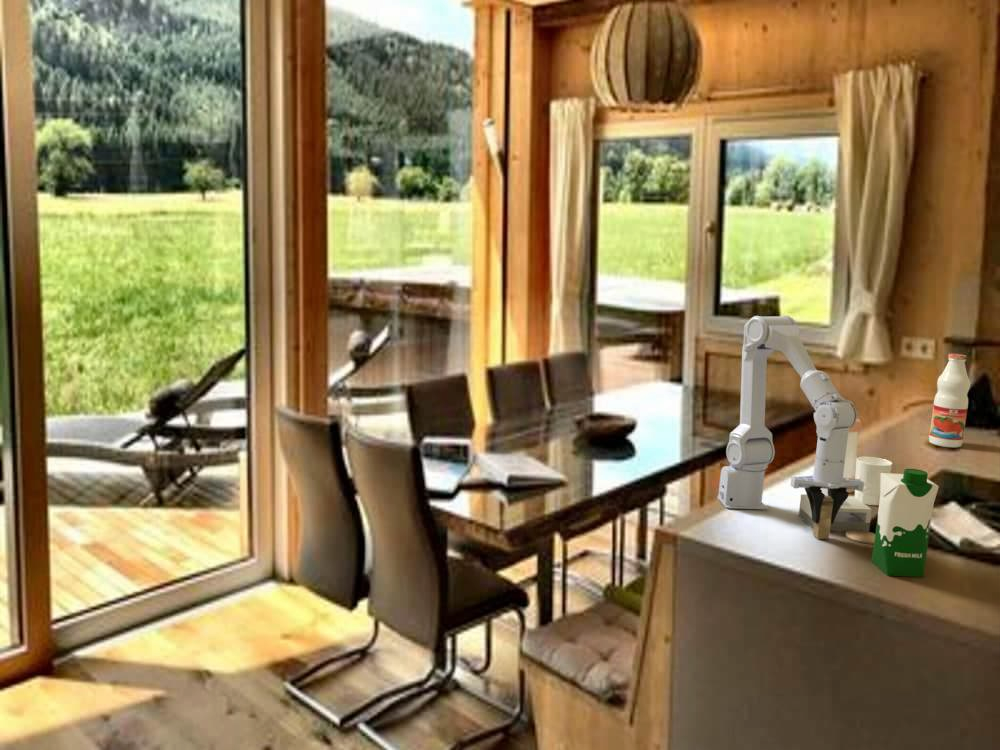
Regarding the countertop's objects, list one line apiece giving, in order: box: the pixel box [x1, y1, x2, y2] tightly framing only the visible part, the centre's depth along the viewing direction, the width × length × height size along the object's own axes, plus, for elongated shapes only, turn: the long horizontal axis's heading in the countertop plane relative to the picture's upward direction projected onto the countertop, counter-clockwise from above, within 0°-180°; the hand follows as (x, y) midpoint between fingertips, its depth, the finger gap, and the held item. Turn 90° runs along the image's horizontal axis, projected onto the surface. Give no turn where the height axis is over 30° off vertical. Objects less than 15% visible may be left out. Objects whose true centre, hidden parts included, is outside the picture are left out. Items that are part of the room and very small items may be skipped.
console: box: [798, 494, 873, 532], centre depth 198 cm, size 12×9×5 cm
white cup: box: [854, 456, 893, 506], centre depth 216 cm, size 8×8×10 cm
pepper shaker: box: [843, 417, 864, 493], centre depth 224 cm, size 7×7×19 cm
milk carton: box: [870, 468, 940, 578], centre depth 172 cm, size 9×9×20 cm
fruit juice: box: [928, 353, 971, 448], centre depth 278 cm, size 9×9×28 cm
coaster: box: [845, 530, 875, 545], centre depth 190 cm, size 7×7×1 cm
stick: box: [812, 496, 834, 540], centre depth 188 cm, size 2×2×8 cm
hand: (822, 521), depth 188 cm, fingers closed on stick, 2 cm apart
